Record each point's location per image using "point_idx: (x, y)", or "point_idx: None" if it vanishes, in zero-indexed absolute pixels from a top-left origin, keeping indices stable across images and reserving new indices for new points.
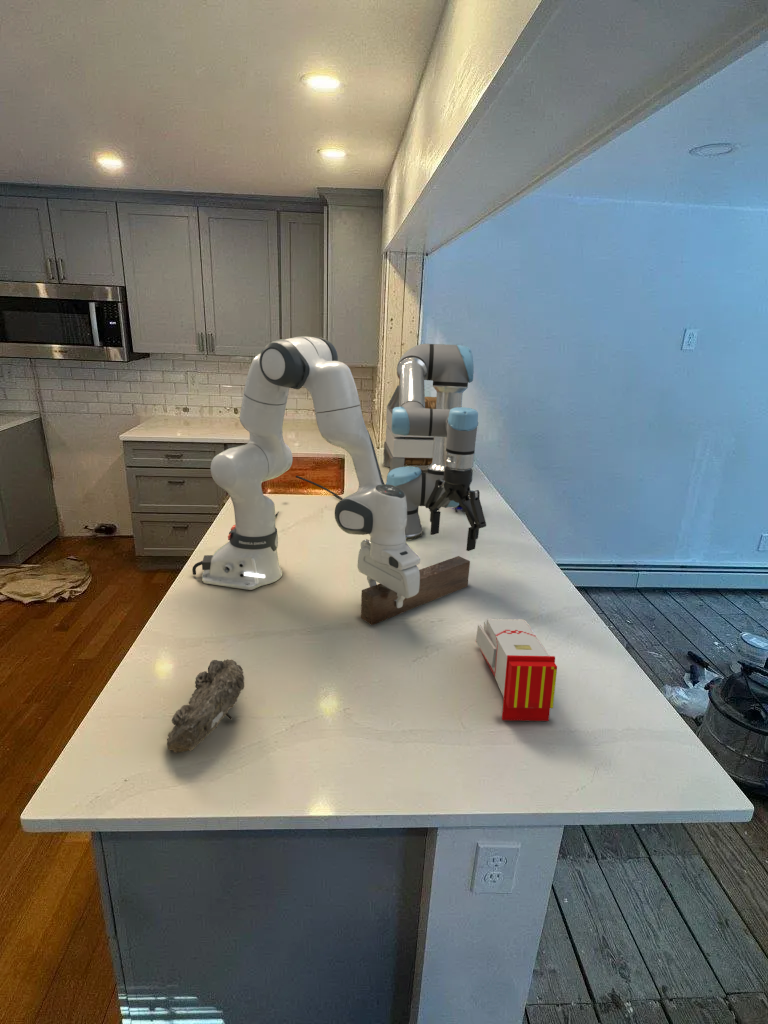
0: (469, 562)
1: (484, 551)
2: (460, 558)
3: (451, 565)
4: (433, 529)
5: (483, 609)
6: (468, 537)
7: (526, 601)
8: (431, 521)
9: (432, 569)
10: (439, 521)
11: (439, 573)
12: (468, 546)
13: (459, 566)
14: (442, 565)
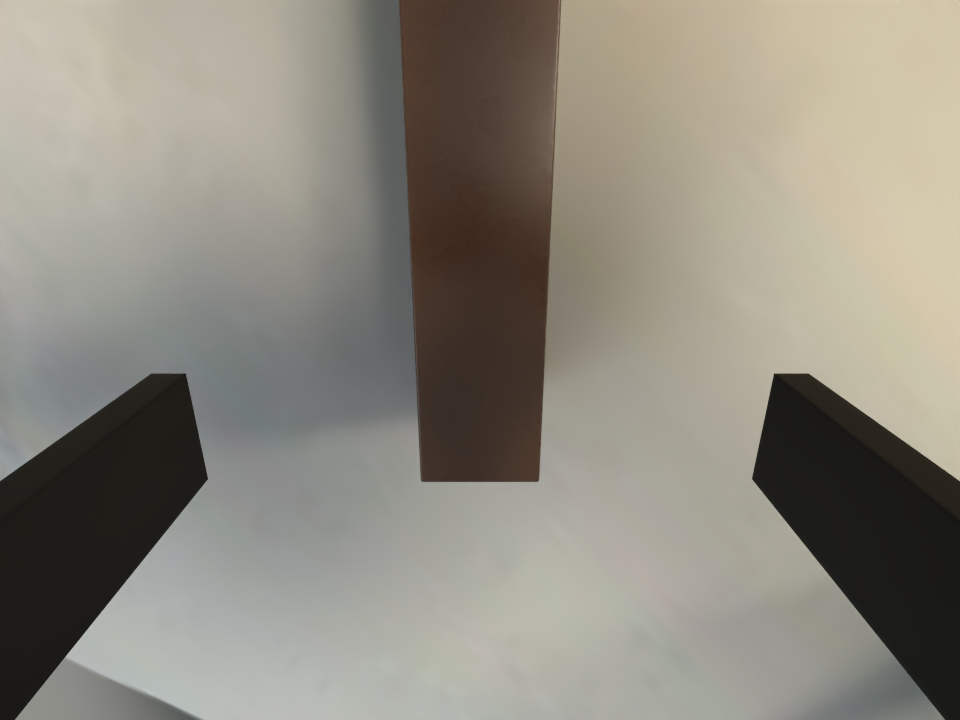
0: (420, 470)
1: (649, 716)
2: (497, 461)
3: (447, 315)
4: (813, 424)
5: (186, 263)
6: (46, 470)
7: None
8: (946, 476)
9: (487, 115)
10: (846, 590)
11: (405, 124)
12: (120, 399)
13: (417, 369)
14: (492, 255)
